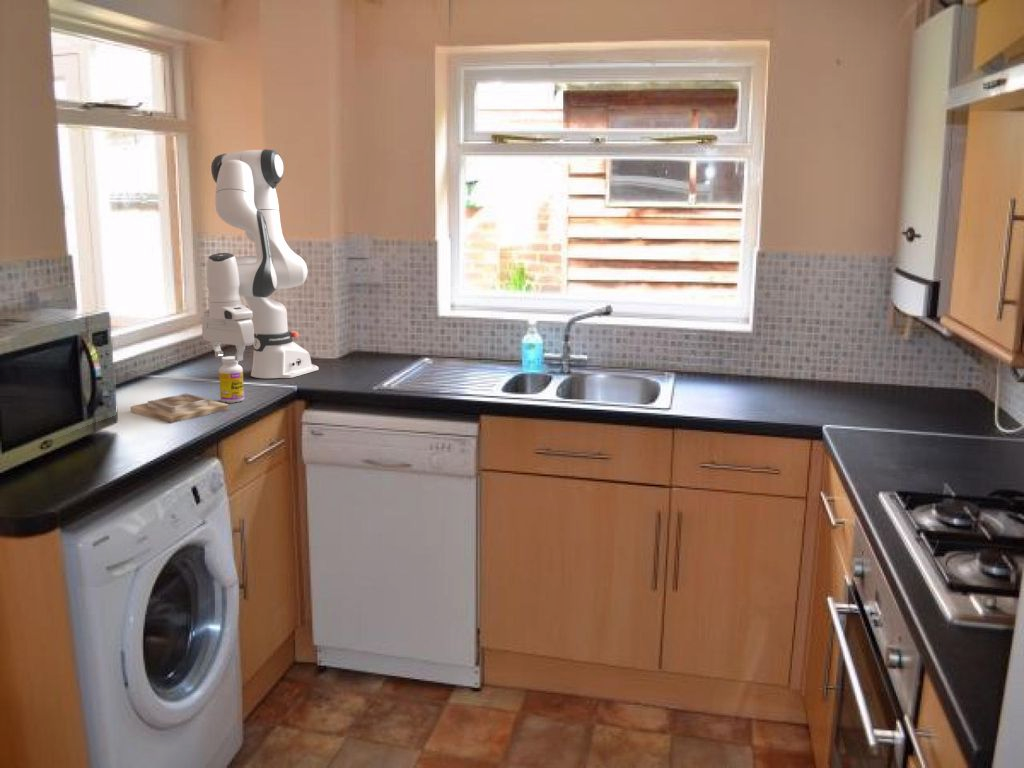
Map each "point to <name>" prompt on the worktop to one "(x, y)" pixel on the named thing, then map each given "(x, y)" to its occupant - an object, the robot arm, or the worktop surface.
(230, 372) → the supplement bottle
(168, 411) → the pocket board
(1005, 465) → the worktop surface
